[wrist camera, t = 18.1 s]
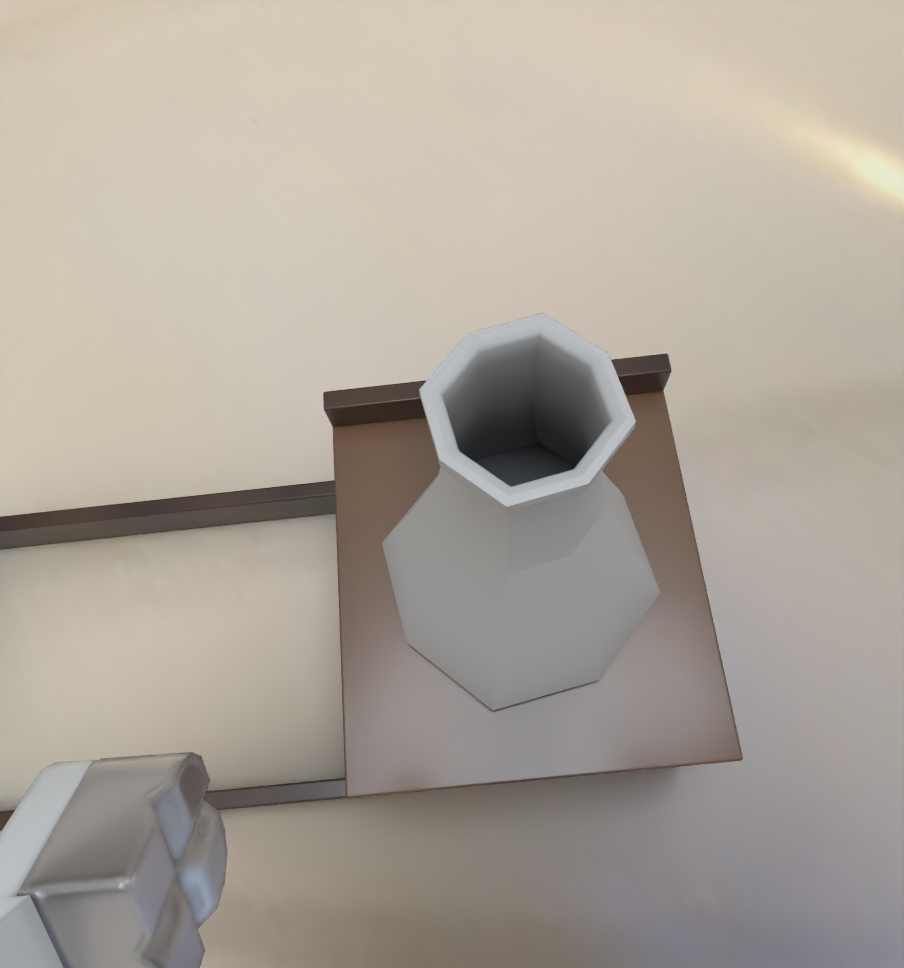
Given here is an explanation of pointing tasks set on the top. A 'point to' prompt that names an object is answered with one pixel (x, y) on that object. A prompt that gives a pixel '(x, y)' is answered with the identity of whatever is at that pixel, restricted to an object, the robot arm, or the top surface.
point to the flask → (522, 518)
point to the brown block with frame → (417, 681)
